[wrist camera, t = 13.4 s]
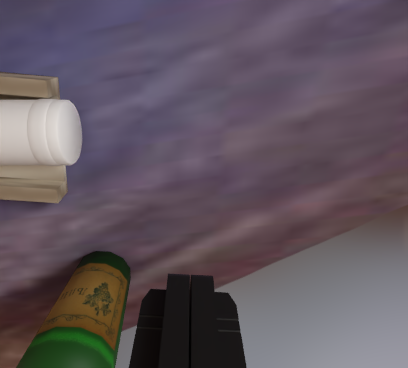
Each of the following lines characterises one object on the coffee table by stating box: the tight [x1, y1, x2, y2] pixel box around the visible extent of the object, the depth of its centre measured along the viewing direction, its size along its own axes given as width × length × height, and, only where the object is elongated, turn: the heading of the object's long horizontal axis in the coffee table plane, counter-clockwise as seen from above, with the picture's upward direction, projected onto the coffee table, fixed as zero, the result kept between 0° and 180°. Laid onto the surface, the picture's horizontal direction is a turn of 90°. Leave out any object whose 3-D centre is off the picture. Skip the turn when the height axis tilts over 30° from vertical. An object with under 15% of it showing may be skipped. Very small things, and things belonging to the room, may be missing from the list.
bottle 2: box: [16, 251, 130, 368], centre depth 41 cm, size 11×11×28 cm
